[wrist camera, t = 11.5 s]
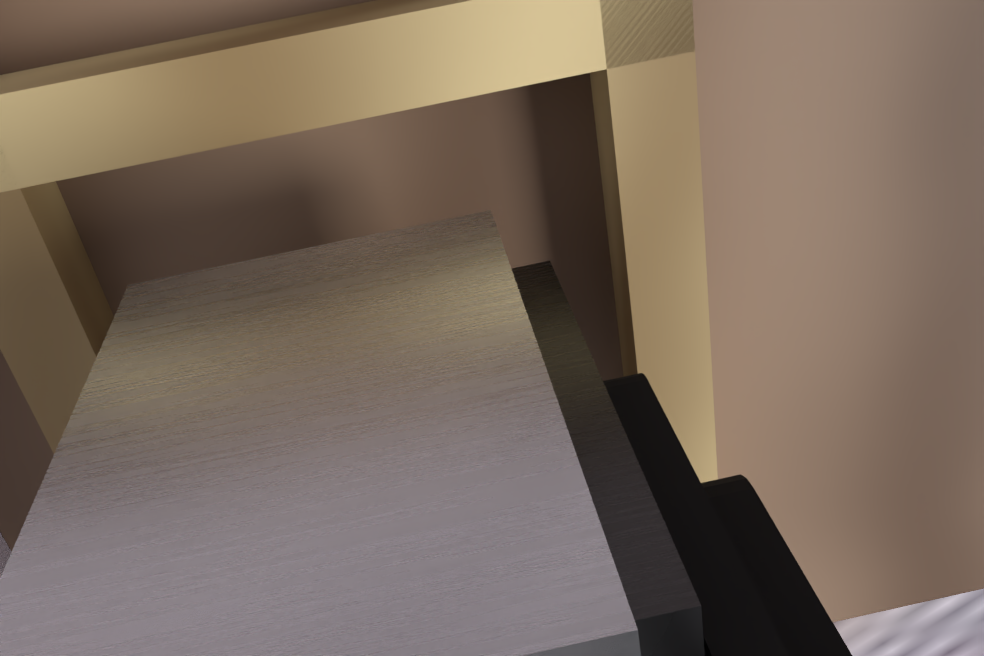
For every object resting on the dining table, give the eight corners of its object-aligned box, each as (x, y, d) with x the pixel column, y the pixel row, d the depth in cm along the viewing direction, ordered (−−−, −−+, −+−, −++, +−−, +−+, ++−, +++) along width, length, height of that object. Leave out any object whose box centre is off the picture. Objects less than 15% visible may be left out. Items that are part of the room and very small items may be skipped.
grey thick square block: (535, 200, 10) (727, 608, 5) (593, 587, 13) (750, 1088, 8) (127, 285, 10) (-94, 794, 5) (280, 658, 13) (240, 1213, 8)
